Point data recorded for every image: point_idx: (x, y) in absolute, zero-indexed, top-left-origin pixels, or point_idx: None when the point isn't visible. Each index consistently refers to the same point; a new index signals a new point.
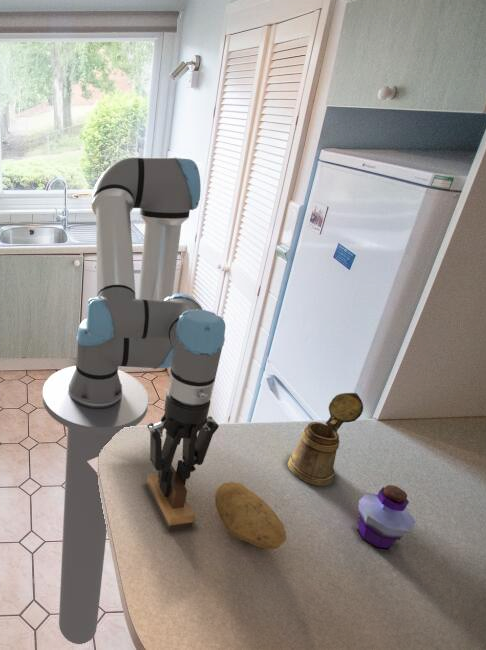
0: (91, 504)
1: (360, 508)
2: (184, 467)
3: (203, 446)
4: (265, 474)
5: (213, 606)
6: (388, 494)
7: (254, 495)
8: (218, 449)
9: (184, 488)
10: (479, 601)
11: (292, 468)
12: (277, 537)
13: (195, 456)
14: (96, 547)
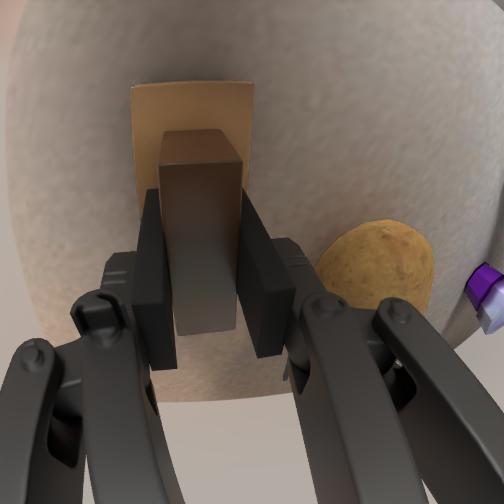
0: None
1: (499, 298)
2: (272, 341)
3: (427, 478)
4: (484, 141)
5: (191, 378)
6: None
7: (422, 311)
8: (461, 27)
9: (227, 322)
10: (461, 332)
11: None
12: None
13: (380, 361)
14: None
